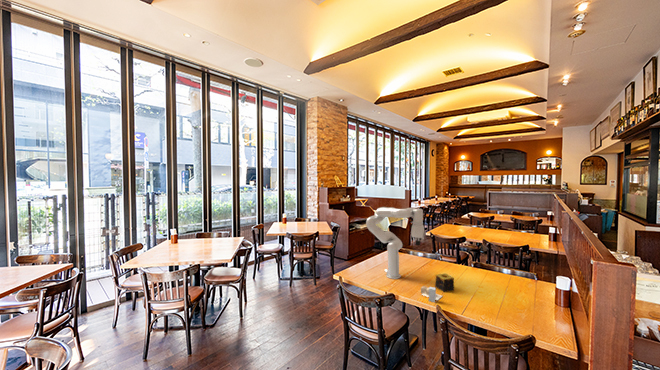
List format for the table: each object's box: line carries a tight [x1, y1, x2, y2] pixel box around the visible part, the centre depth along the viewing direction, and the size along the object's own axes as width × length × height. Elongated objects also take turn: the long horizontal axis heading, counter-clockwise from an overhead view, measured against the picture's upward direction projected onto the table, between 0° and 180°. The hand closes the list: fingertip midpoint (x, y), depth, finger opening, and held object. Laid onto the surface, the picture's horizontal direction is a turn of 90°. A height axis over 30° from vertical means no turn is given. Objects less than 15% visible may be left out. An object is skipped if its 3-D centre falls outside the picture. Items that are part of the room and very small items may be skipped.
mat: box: [421, 293, 443, 301], centre depth 192 cm, size 12×9×1 cm
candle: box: [434, 273, 455, 293], centre depth 204 cm, size 10×10×10 cm
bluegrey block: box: [428, 286, 437, 303], centre depth 185 cm, size 4×4×9 cm
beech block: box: [420, 285, 429, 295], centre depth 194 cm, size 4×4×9 cm
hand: (417, 245), depth 216 cm, fingers closed
